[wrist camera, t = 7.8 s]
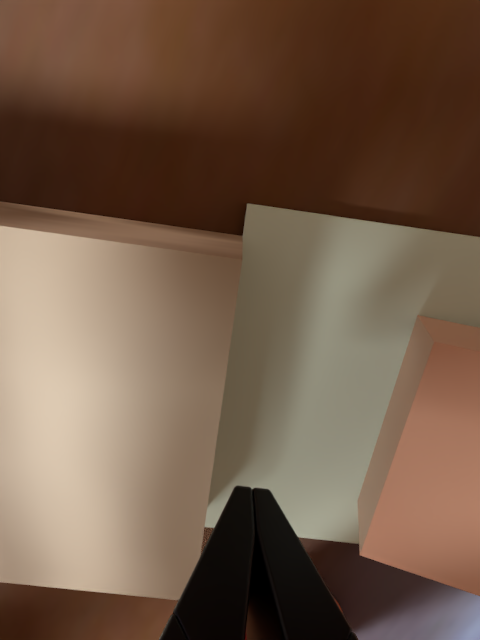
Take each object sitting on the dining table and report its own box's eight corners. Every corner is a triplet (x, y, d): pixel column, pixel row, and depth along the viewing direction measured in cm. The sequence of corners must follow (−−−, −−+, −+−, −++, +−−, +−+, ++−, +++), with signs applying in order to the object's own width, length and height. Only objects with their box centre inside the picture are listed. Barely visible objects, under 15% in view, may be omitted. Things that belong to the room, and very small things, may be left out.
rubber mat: (203, 518, 16) (202, 526, 15) (247, 202, 11) (247, 203, 11) (495, 550, 16) (501, 559, 16) (646, 261, 12) (658, 263, 12)
